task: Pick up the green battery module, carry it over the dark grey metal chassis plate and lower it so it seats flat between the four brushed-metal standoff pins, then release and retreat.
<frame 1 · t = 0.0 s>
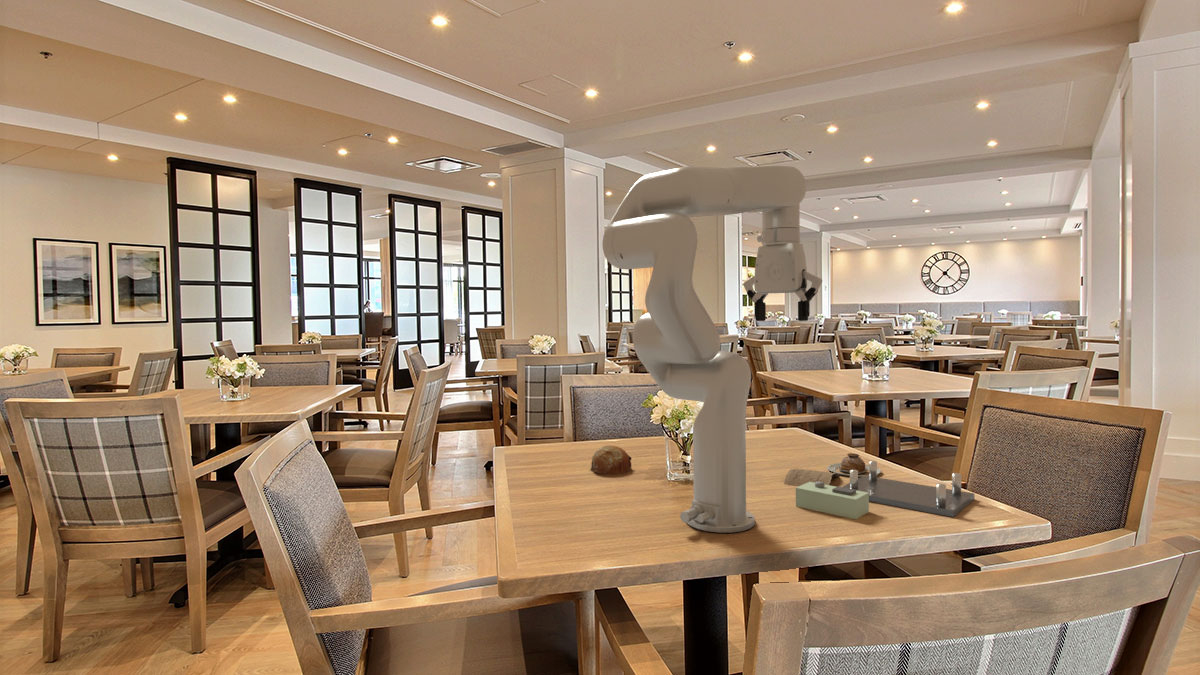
hand: (781, 320, 132), 37 cm above the table, tool pointing down, fingers open, 9 cm apart
bread roll: (611, 471, 157), on the table
curved roof tile: (811, 484, 144), on the table
chassis: (904, 497, 130), on the table
green battery module: (831, 510, 123), on the table
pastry: (854, 474, 151), on the table
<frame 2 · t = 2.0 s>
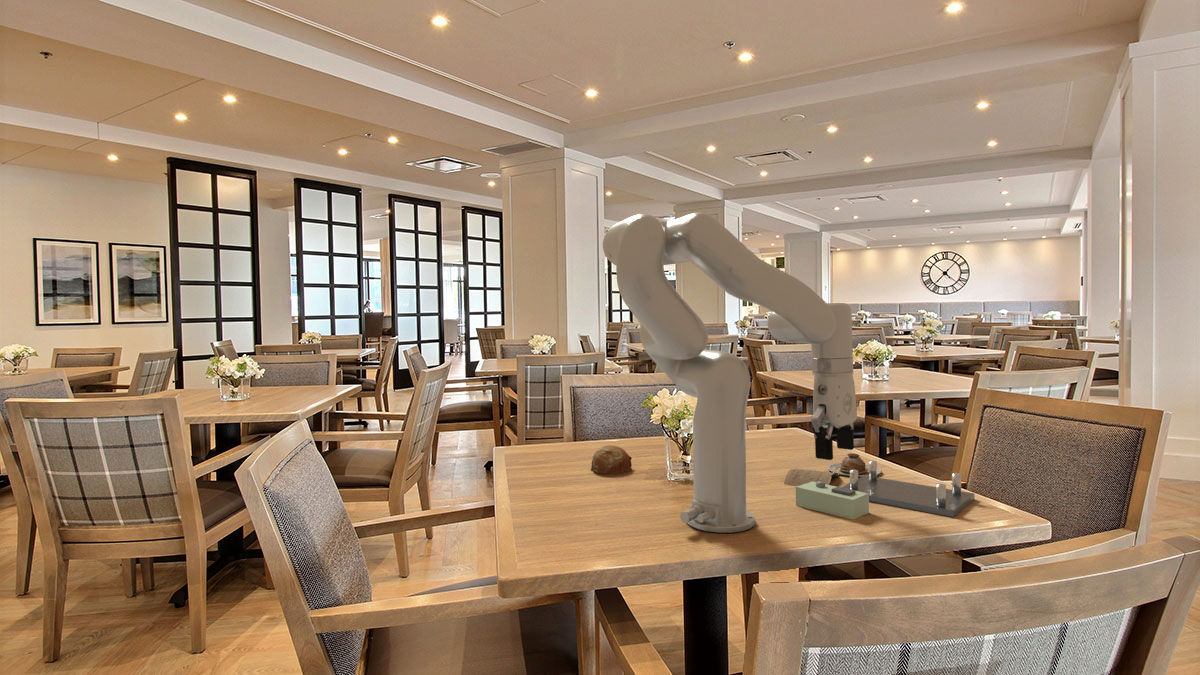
hand: (835, 453, 123), 11 cm above the table, tool pointing down, fingers open, 9 cm apart
nothing on the table moved.
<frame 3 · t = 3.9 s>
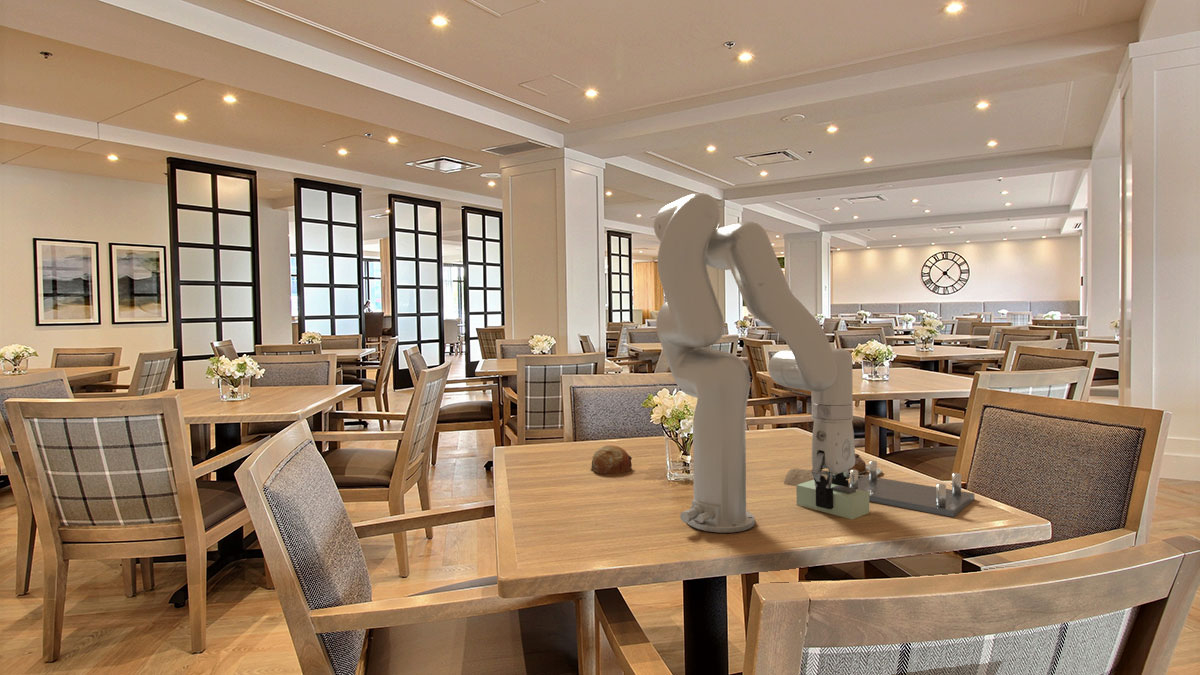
hand: (832, 502, 123), 1 cm above the table, tool pointing down, fingers closed on green battery module, 6 cm apart
green battery module: (832, 508, 123), on the table, touching gripper
everything else where it was.
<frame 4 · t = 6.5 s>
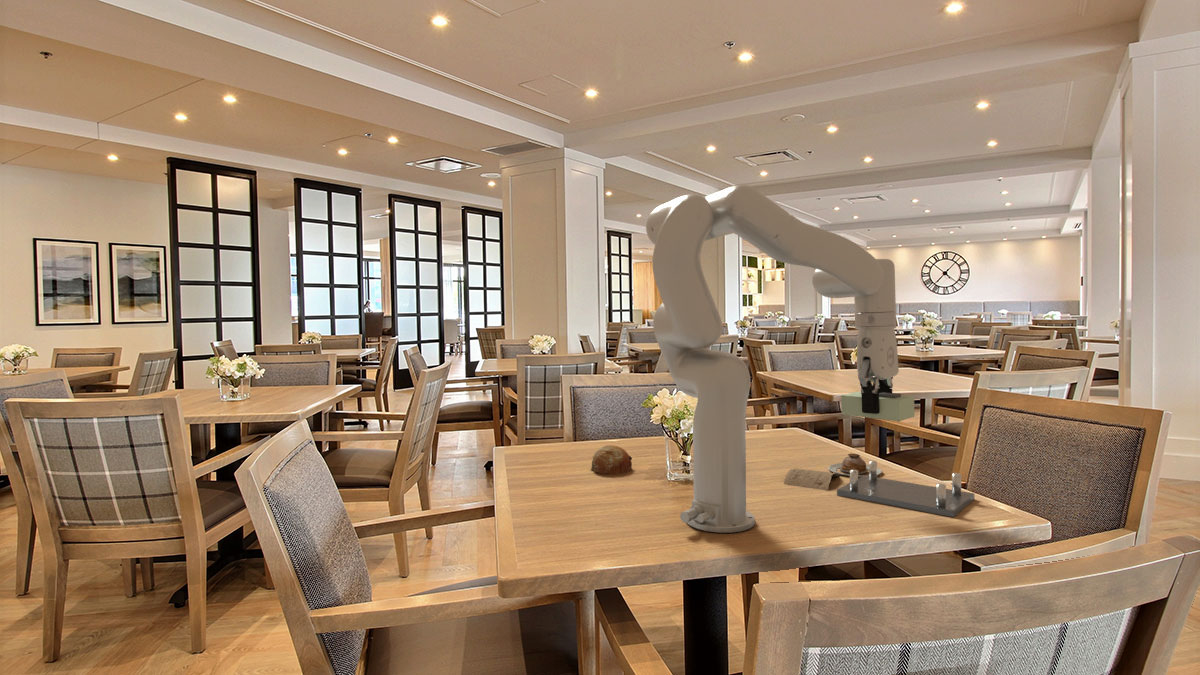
hand: (877, 409, 126), 19 cm above the table, tool pointing down, fingers closed on green battery module, 6 cm apart
green battery module: (877, 415, 126), point 17 cm above the table, touching gripper
everything else where it was.
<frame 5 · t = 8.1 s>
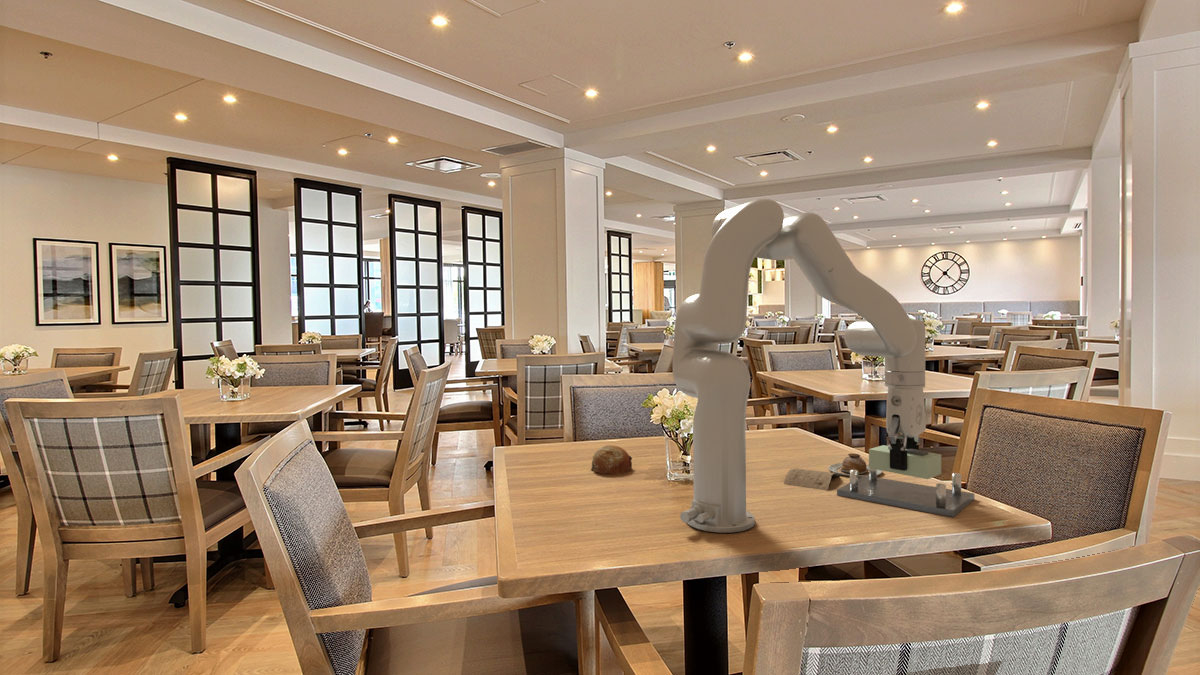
hand: (904, 465, 129), 7 cm above the table, tool pointing down, fingers closed on green battery module, 6 cm apart
green battery module: (904, 470, 130), point 5 cm above the table, touching gripper
everything else where it was.
when the fingers open (3 cm above the table, at t = 9.3 s): green battery module stays where it is, resting on chassis.
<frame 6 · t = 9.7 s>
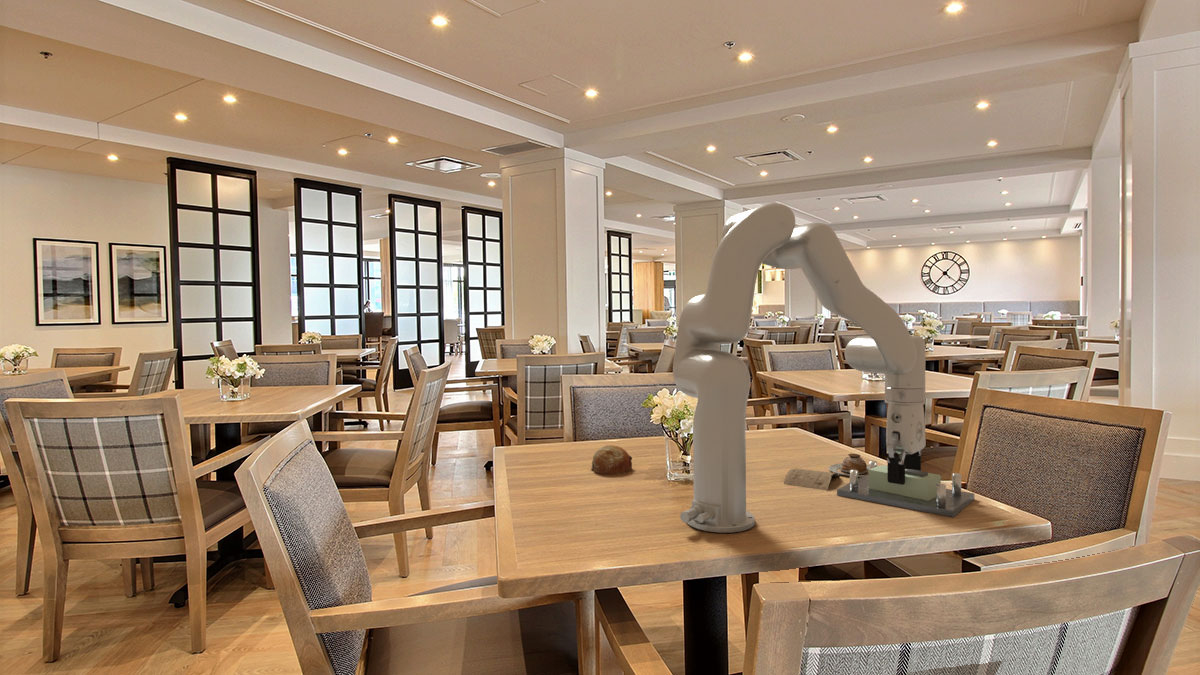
hand: (904, 478, 130), 4 cm above the table, tool pointing down, fingers open, 9 cm apart
green battery module: (903, 491, 130), point 1 cm above the table, touching chassis
everything else where it was.
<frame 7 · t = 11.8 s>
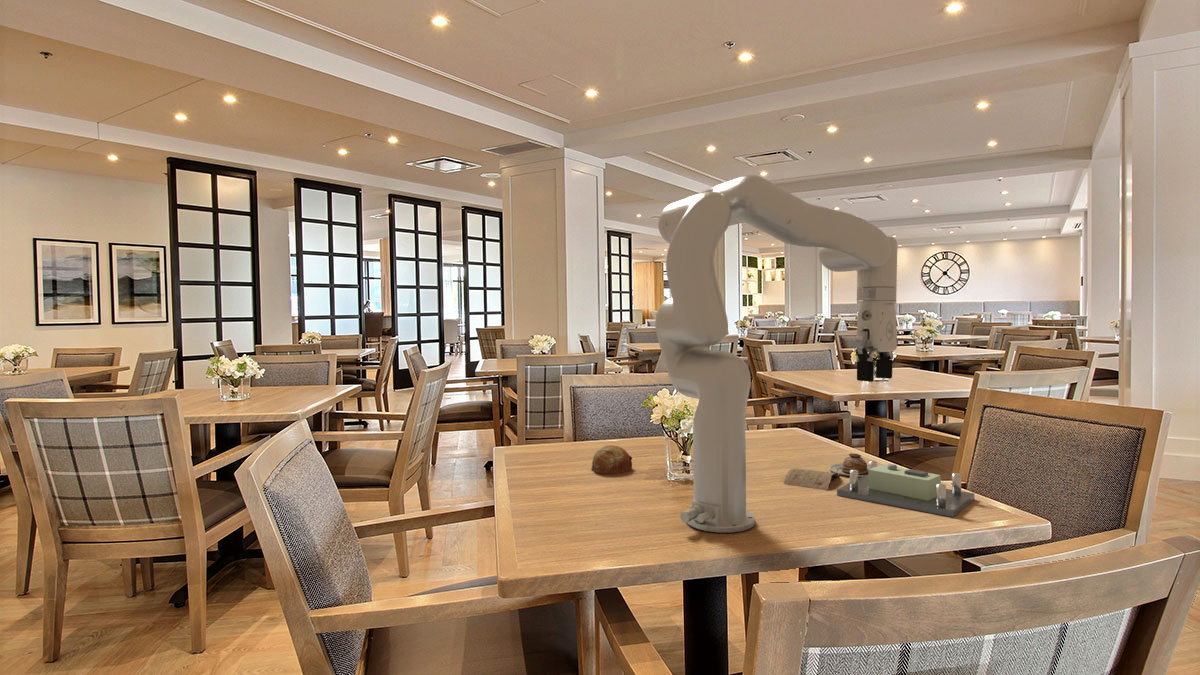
hand: (874, 379, 130), 24 cm above the table, tool pointing down, fingers open, 9 cm apart
nothing on the table moved.
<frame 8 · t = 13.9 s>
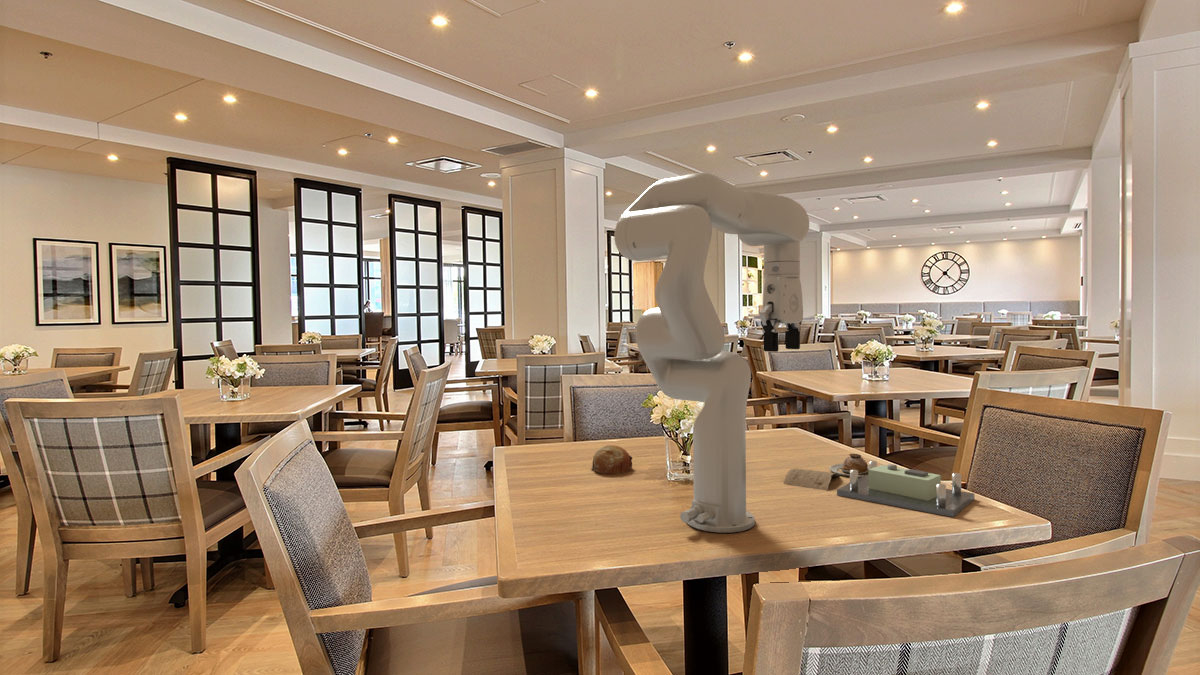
hand: (782, 350, 137), 30 cm above the table, tool pointing down, fingers open, 9 cm apart
nothing on the table moved.
at the end: green battery module 0.1 cm off-centre on the chassis, point 1.2 cm above the chassis's base; green battery module tilted 0°; the gripper is holding nothing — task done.
